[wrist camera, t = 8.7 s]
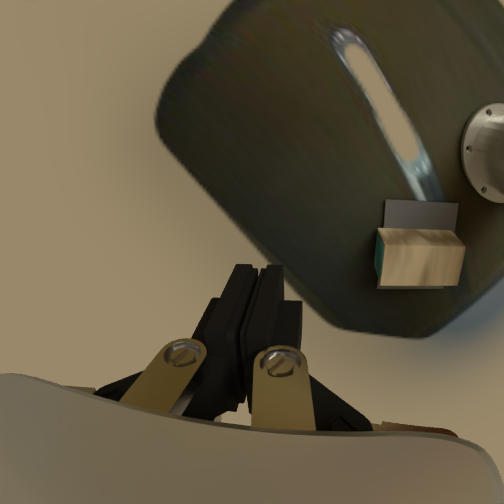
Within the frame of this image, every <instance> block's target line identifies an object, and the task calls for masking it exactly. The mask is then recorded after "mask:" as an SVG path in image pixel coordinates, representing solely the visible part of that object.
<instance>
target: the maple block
mask: <svg viewBox="0 0 504 504" xmlns="http://www.w3.org/2000/svg"><path fill="white" fill-rule="evenodd" d="M465 249H466V247H465V245H464V244H463V243H462V242H461V241H460V240H459V239H458V237H457V236H456V235H455V234H454V233H453V232H452V231H451V230H428V229H397V228H378V231H377V239H376V250H375V260H374V266H375V269H376V273H377V276H378V279H379V283H380V286H457V285H458V281H459V276H460V272H461V268H462V263H463V259H464V254H465Z"/></svg>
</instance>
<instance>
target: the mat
mask: <svg viewBox="0 0 504 504" xmlns="http://www.w3.org/2000/svg"><path fill="white" fill-rule="evenodd" d="M458 205H459V204H458V203H447V202H431V201H411V200H388V199H385V213H384V226H383V228H397V229H428V230H451V231H452V232H453V233H455V227H456V220H457V213H458ZM443 288H444V286H380V283H379V279H378V282H377V289H443Z"/></svg>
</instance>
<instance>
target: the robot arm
mask: <svg viewBox="0 0 504 504" xmlns="http://www.w3.org/2000/svg"><path fill="white" fill-rule="evenodd" d="M486 111H487V114H486ZM467 147H468V149H467V150H466V148H467ZM461 160H462V165H463V169H464V172H465V174H466V177H467V179H468V181H469V182H470V184H471V186H472V187H473V188H474V189H475V190H476V192H478V193H479V194H480V195H481V196H483V197H484V198H486V199H488V200H490V201H493V202H495V203H504V104H501V103H491V104H487V105H484V106H483V107H481V108H479V109H478V110H477V111H476V112H475V113H474V114H473V115H472V116H471V117H470V119H469V120H468V122H467V124H466V126H465V129H464V132H463V136H462V140H461ZM301 336H302V301H290V300H284V272H283V265H267V267H266V269H264V268H262V269H261V271H260V274H259V277H258V269H257V268H253V267H252V265H251V264H236V265H235V268H234V270H233V272H232V274H231V276H230V278H229V280H228V282H227V284H226V286H225V288H224V291H223V292H222V294H221V297H220V298H212V299H211V300H210V303H209V304H208V306H207V308H206V310H205V312H204V314H203V316H202V318H201V320H200V322H199V324H198V326H197V328H196V330H195V332H194V333H193V335H192V337H191V339H189V338H185V339H178V340H175V341H172V342H170V343H168V344H167V345H165V346H164V347H163V348H162V349H161V350H160V352H159V353H158V354H157V355H156V356H155V358H154V359H153V360H152V362H151V363H150V364H149V365H148V366H147V368H146V369H145V370H144V371H141V372H139V373H137V374H134V375H131V376H129V377H126V378H124V379H121V380H118V381H116V382H114V383H111V384H108V385H106V386H104V387H102V388H100V389H99V390H97V391H96V389H95V388H88V387H74V386H63V385H60V384H57V383H53V382H50V381H47V380H43V379H40V378H37V377H32V376H27V375H23V374H14V373H9V374H0V504H504V485H503V482H502V479H501V476H500V473H499V471H498V469H497V466H496V464H495V463H494V461H493V459H492V458H491V456H490V455H489V454H488V453H487V452H486V451H485V450H484V449H483V448H482V447H480V446H479V445H477V444H475V443H472V442H470V441H468V440H464V439H462V438H458V436H457V435H456V434H455V433H454V432H452V431H451V430H448V429H443V428H434V427H422V426H414V425H406V424H398V423H390V422H384V421H382V424H381V425H379V424H372V423H370V421H369V420H368V419H367V418H365V416H364V415H362V414H361V413H360V412H358V411H357V410H356V409H354V408H353V407H352V406H350V405H349V404H348V403H346V402H345V401H344V400H342V399H341V398H339V397H338V396H337V395H335V394H334V393H333V392H331V391H330V390H329V389H327V388H326V387H325V386H324V385H322V384H321V383H320V382H318V381H317V380H316V379H315V378H313V377H312V376H311V375H310V374H309V373H308V365H307V360H306V357H305V355H304V354H303V353H302V352H301V351H300V348H301ZM246 395H247V401H248V408H249V413H250V414H251V415H252V419H251V426H244V425H237V424H228V423H222V422H221V414H223V413H225V412H227V411H233V412H236V411H237V408H238V404H239V403H244V402H245V399H246Z"/></svg>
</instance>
